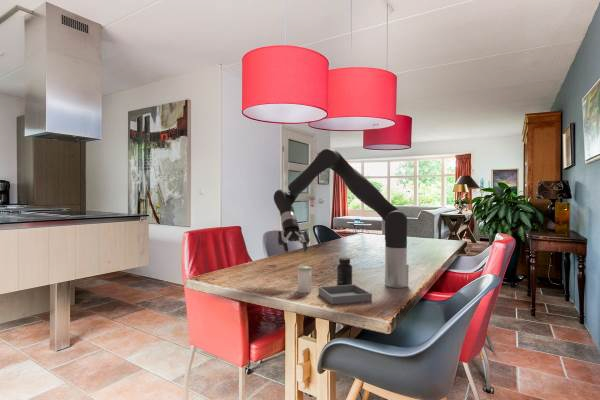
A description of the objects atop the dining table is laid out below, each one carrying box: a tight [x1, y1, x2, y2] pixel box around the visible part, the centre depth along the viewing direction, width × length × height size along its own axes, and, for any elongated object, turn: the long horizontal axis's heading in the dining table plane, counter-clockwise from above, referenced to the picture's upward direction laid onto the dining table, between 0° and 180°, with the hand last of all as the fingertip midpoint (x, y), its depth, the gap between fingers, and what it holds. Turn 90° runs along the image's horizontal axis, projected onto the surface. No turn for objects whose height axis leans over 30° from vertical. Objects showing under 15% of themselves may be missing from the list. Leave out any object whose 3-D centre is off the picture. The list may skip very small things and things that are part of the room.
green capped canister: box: [297, 265, 313, 294], centre depth 142 cm, size 6×6×10 cm
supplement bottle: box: [336, 257, 353, 286], centre depth 152 cm, size 7×7×12 cm
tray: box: [318, 283, 373, 306], centre depth 133 cm, size 16×14×3 cm
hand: (296, 250), depth 153 cm, fingers open, 8 cm apart
